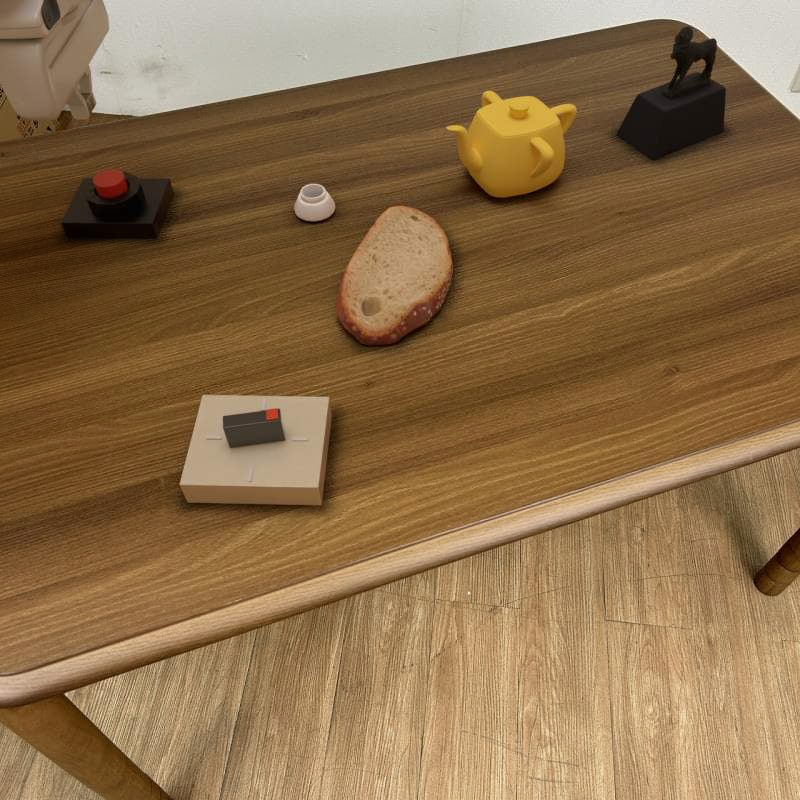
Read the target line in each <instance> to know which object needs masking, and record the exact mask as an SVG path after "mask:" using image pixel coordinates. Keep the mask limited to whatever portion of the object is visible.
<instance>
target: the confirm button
mask: <svg viewBox="0 0 800 800" xmlns="http://www.w3.org/2000/svg"><path fill="white" fill-rule="evenodd" d="M122 172H123V171H121V170H119V169H106V170H105V169H104V170H103V171H102V170H101V171H100V172H98V173H97V174H95V176H94V177H93V178H94V179H93V183H94V185H95V188H96V190H97V193H98V195H99V196H100V197H101V198H114V197H117V196H120V195H122V194H124V193H125V192H126V191H127V190H128V185H127V182H126V179H125V176H124V174H123V173H122Z"/></svg>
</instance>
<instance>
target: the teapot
mask: <svg viewBox="0 0 800 800" xmlns="http://www.w3.org/2000/svg"><path fill="white" fill-rule="evenodd" d="M577 111H578V109H577V107H576V105H574V104H572V103H564V104H560V105H559V104H558V105H557V106H554V107H551V108H550V107H548V106H547V105H546V103H544V102H543V101H541V100H540V99H538V98H537V97H535V96H532V95H529V96H528V95H524V96H523V95H522V96H516V97H509V98H506V99H502V98H501V97H500V96H499V95H498V94H497V93H496V92H494V91H492V90H486V91H484V92H483V93H482V95H481V108H479V109H478V110H477V111H476V113H475V115H474V117H473V119H472V121H471V122H470V125H469V128H468V130H467V129H466V128H465V127H464V126H462V125H457V124H452V125H448V126H446V128H445V129H446V130H448V131H450V132H452V133H454V134H455V135H456V139H457V151H458V153H457V154H458V157H459V160H460V162H461V163H462V164H463V166H464V167H465V168H466V170H467V172H468V174H469V175H470V176H471V178H472V179H473V180H474V181H475V183H477V184H478V186H479V187H480V188H481V189H482V190H484V192H485V193H487V194H488V195H489V196H491V197H494V198H509V197H515V196H521V195H527V194H529V193H532V192H535V191H538V190H540V189H543V188H545V187H547V186H549V185H550V184H553V183H554V182H555V181H556V180H557V179H558V178H559V176H560V175H561V174H562V172H563V170H564V168H565V158H566V146H565V145H566V143H565V139H564V138H565V137H564V135H565V134H566V132H567V131H568V130H569V129H570V127H571V126H572V124H573V122H574V121H575V118H576V116H577V113H578V112H577ZM559 116H561V119H560V118H559Z"/></svg>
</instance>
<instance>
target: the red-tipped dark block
mask: <svg viewBox="0 0 800 800" xmlns="http://www.w3.org/2000/svg"><path fill="white" fill-rule="evenodd" d="M223 430H224V433H225V436H226V439H227V442H228V445H229V448H234V447H241V446H248V445H256V444H263V443H270V442H278V441H285V428H284V423H283V419H282V415H281V410H280V409H278V408H274V409H266V410H264V411H257V412H249V413H242V414H234V415H227V416H223Z"/></svg>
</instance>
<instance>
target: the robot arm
mask: <svg viewBox="0 0 800 800" xmlns="http://www.w3.org/2000/svg"><path fill="white" fill-rule="evenodd" d="M109 31H110V19H109V15H108V11H107V8H106V6H105V3H104V0H0V86H1V87H2V90H3V92H4V95H6V96H5V97H7V99H8V101H9V104H10V105H11V107H12V109H13V110H14V112H15V113H16V114H17V115H18V116H19V117H20V118H22V119H23V120H26V121H33V122H34V121H37V122H39V121H40V122H41V121H42V122H43V121H44V122H46V121H55V120H57V119H58V118H59V117H60V116H61V113H62V111H63V110H64V108H65V106H68V109H69V111H70V114H71V116H72V118H73V119H74V120H76V121H88V120H89V118H90V116H91V114H92V112H93V111H94V109H95V107H96V106H97V100H96V98H95V95H94V91H93V81H92V79H93V78H92V70H91V66H90V64H91V62H92V60H93V59H94V56H95V55H96V54H97V52H98V50H99V48H100V47H101V45H102V43H103V41H104V40H105V38H106V36H107V34H108V33H109Z"/></svg>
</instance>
